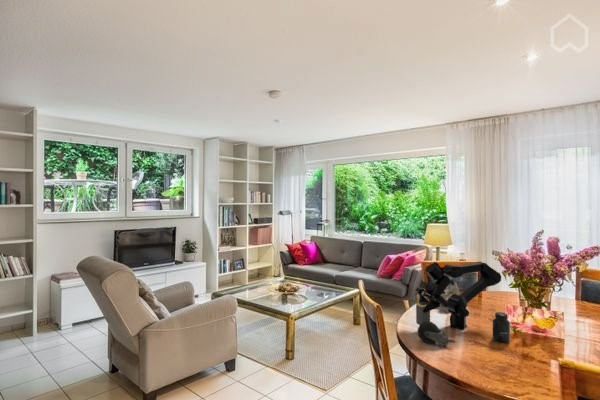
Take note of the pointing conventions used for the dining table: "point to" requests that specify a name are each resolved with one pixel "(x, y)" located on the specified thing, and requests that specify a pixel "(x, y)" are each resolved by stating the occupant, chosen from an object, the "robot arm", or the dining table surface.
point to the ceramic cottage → (449, 295)
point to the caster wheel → (432, 334)
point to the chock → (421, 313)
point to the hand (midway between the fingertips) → (420, 310)
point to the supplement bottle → (501, 328)
